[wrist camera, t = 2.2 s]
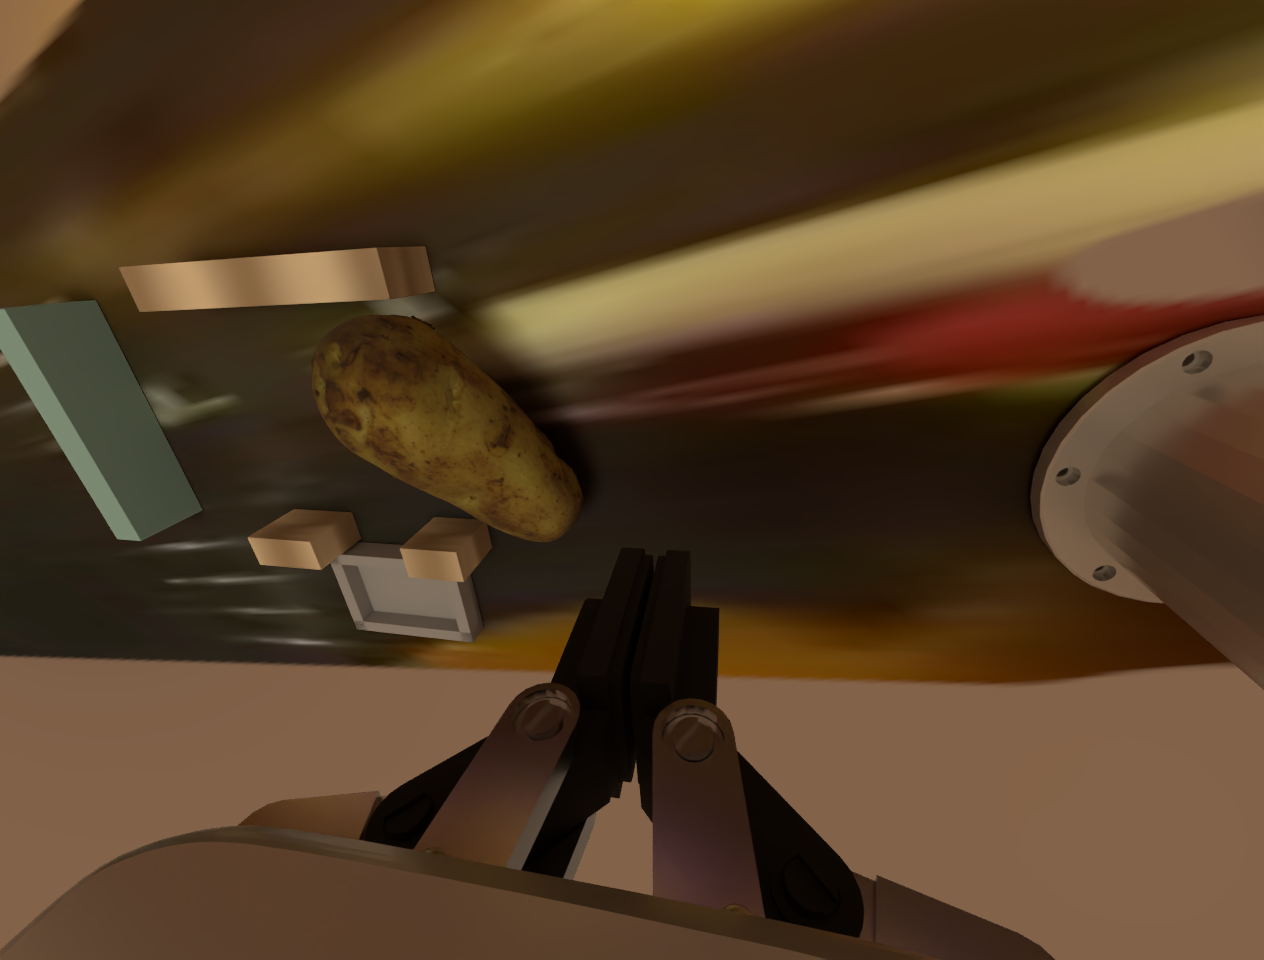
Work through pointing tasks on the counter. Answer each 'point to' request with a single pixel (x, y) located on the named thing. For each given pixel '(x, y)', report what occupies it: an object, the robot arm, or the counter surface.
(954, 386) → the counter surface
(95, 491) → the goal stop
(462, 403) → the potato
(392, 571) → the grey tray
